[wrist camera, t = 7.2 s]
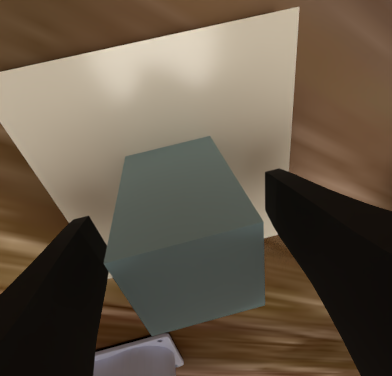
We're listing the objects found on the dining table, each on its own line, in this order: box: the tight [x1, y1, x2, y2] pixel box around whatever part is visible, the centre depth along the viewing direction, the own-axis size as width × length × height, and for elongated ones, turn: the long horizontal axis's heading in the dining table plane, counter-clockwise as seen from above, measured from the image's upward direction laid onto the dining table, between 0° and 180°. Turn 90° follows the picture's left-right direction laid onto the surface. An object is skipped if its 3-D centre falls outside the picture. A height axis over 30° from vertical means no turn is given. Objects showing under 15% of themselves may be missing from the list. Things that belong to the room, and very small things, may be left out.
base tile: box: [0, 7, 299, 279], centre depth 12 cm, size 12×12×2 cm
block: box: [104, 136, 265, 336], centre depth 9 cm, size 4×4×6 cm
